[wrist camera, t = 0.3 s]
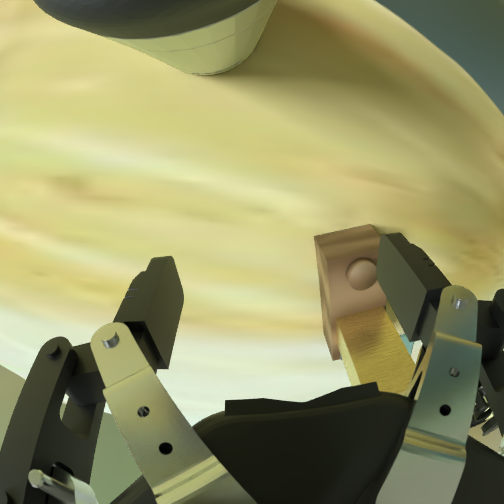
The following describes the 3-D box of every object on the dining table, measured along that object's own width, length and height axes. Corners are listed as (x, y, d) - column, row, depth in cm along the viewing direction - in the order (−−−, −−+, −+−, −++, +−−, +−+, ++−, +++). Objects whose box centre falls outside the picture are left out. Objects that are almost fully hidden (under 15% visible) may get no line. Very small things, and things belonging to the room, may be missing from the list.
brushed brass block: (335, 318, 30) (367, 403, 20) (385, 304, 30) (428, 381, 20) (336, 342, 32) (363, 422, 22) (382, 329, 32) (419, 402, 22)
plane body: (314, 236, 31) (330, 268, 25) (370, 224, 30) (395, 252, 25) (323, 333, 38) (335, 368, 33) (368, 321, 38) (384, 353, 32)
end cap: (459, 417, 69) (466, 431, 63) (472, 405, 66) (479, 420, 60) (474, 412, 71) (480, 425, 65) (486, 400, 67) (493, 414, 61)
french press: (489, 364, 52) (526, 428, 32) (464, 387, 56) (496, 452, 36) (476, 358, 48) (518, 432, 29) (448, 384, 52) (483, 459, 32)
